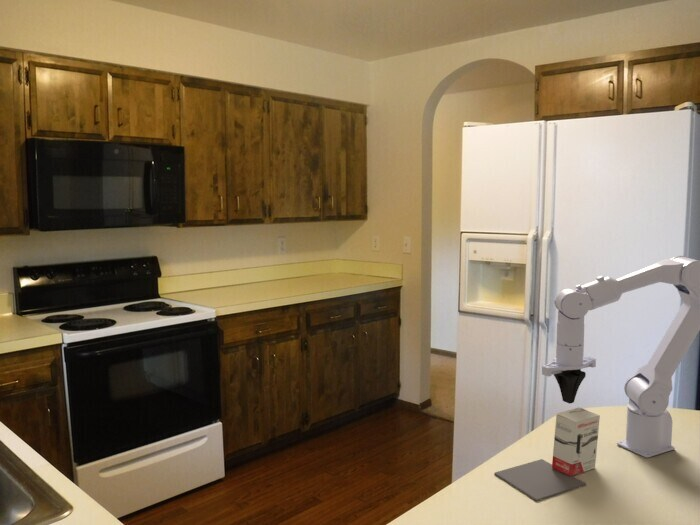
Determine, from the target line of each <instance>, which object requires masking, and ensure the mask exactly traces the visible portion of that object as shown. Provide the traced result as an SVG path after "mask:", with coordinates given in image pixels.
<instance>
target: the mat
mask: <svg viewBox="0 0 700 525" xmlns="http://www.w3.org/2000/svg"><path fill="white" fill-rule="evenodd" d="M494 475H495V476H496V477H498V478H499V479H501V480H502V481H503V482H505V483H507V484H509V485H510V486H512V487H513V488H515V489H517V490H518V491H520V492H521V493H523V494H524V495H525V496H527V497H528V498H531V499H532V500H533V501H535V502H540V501H542V500H546V499H549V498H551V497H555V496H558V495H561V494H564V493H567V492H570V491H573V490H576V489H579V488H583V487H585V486H587V482H585V481H583V480H581V479H579V478H578V477H576V476H575V475H574V476H569V475H566V474H564V473H562V472H560V471H558V470H556V469H554V468H552V463H549V462H548V461H546V460H544V459H543V458H542V459H537V460H533V461H531V462H528V463H523V464H519V465H517V466H516V465H515V466H513V467H509V468H506V469H503V470H502V469H501V470H499V471H496V472H495V471H494Z"/></svg>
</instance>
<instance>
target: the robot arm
mask: <svg viewBox="0 0 700 525" xmlns="http://www.w3.org/2000/svg"><path fill="white" fill-rule="evenodd" d="M595 279H596V280H593V281H591V282H588V283H585V284H582V285H581V284H577V285H575V289H573V288H565V289H562V290H560V292H559V293H558V294H557V296H556V298H555V299H554V302H553V304H554V306H555V308H556V310H558V311H557V323H556V346H555V347H556V348H555V349H556V350H555V352H556V353H555V357H554V358H553V361H551V362H549V363H548V364H545V365H542V366H541V375H543V376H546V377H548V378H549V377H552V375H553V376H554V378H555V380H556V382H557V385H558V387H559V391H560V395H561V399H562V402H564V403H566V404H567V403H568V404H573V403H575V399H576V397H577V393H578V391H579V388H580V386H581V384H582V382H583V381H584V379H585V378H586V375H587V374H586V372H585V371H583V370H582V369H586V368H596V367H597V366H596V365H597V359H596V358H593V357H591V356H587V357H586V356H585V357H584V353H585V352H584V348H585V347H584V346H585V344H584V343H585V316H586V315H587V313H588V312H589V311H593V310H596V309H598V308H599V309H600V308H601V307H604V306H607V305H610V304H613V303H616V302H618V301H619V300H620V299H621V297H622V295H623V294H625V293H628V292H632V291H635V290H638V289H641V288H645V287H647V286H652V285H655V284H658V283H664V284H669V285H673V286H674V288H676V290H677V292H678V294H679V297H680V298H681V301H682V304H681V305H680V308H679V309H678V311H677V312H676V314H675V316H674V317H673V320H672V322H671V323H670V325H669V326H668V327H667V330H666V331H665V333H664V335H663V336H662V338H661V340H660V342H659V343H658V345H657V346H656V349H655V350H654V352H653V354H652V355H651V357H650V359H649V360H648V362H647V363H646V364H644V365H643V366H641V367H639V368H638V369H637V371H636V372H635V373H634V375H632V376H630V377H629V378H628V379H627V380H626V381H625V383H624V385H623V386H624V388H623V389H624V393H625V395H626V397H627V398H628V403H627V407H626V431H625V439H624V440H620V441H617V442H616V445H617V446H619V447H621V448H624V449H626V450H629V451H630V452H633V453H635V454H638V455H640V456H642V457H643V458H651V457H654V456H657V455H661V454H663V453H667V452H670V451H672V450H675V449H676V448H675V447H676V446H674V445H672V442H673V441H672V438H673V417H672V416H671V413H670V412H669V411H668V410H667V409H668V406H669V404H670V401H669V400H670V395H671V393H672V391H673V381H672V377H673V376H674V374H675V373H676V370H677V368H678V367H679V366H680V363H681V362H682V361H683V358H684V357H685V355H686V354H687V352H688V350H689V348H690V347H691V345H692V344H693V342H694V341H695V339H696V338H697V335H698V334H699V332H700V260H697V259H694V258H690V257H688V256H685V255H676V256H674V257H672V258H665V259H662V260H660V261H658V262H655V263H654V264H651V265H648V266H646V267H643V268H641V269H639V270H636V271H633V272H631V273H628V274H626V275H624V276H621V277H619V278H616V279H615V278H612V277H610V276H606V277H604V276H603V275H599V276H596V278H595Z"/></svg>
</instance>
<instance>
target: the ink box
mask: <svg viewBox="0 0 700 525" xmlns="http://www.w3.org/2000/svg"><path fill="white" fill-rule="evenodd" d="M600 416H601V415H600V414H596V413H595V412H592V411H589V410H588V409H585V408H583V407H575V408H572V409H568V410H565V411H561V412H558V413H557V414H556V416H555V427H554V428H555V429H554V438H553V439H554V440H553V450H552V451H553V452H552V461H551V462H552V463H551V464H552V468H554V469H556V470H558V471H560V472H562V473H564V474H566V475H569V476H574V477H575V476H576V475H579V474H583V473H584V472H588V471H590V470H594V469H595V468H596V461H597V449H598V441H599V440H598V439H599V430H600V429H599V428H600V427H599V426H600V419H601V417H600Z"/></svg>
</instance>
